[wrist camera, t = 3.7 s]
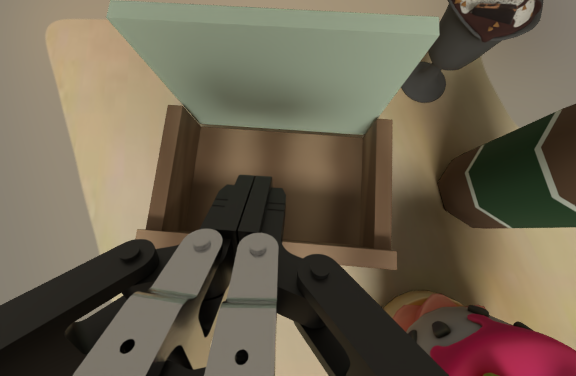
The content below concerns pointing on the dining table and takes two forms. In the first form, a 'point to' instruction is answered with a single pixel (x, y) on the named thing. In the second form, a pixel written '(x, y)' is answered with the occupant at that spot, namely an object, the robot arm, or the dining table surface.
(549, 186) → the beer bottle
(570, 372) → the cake
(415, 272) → the dining table surface
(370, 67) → the pale green panel
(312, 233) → the wooden box
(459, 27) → the sundae
